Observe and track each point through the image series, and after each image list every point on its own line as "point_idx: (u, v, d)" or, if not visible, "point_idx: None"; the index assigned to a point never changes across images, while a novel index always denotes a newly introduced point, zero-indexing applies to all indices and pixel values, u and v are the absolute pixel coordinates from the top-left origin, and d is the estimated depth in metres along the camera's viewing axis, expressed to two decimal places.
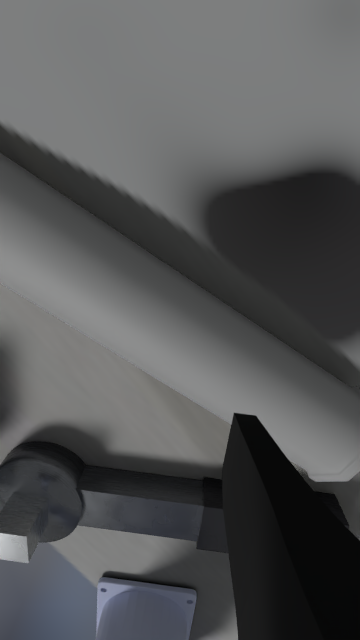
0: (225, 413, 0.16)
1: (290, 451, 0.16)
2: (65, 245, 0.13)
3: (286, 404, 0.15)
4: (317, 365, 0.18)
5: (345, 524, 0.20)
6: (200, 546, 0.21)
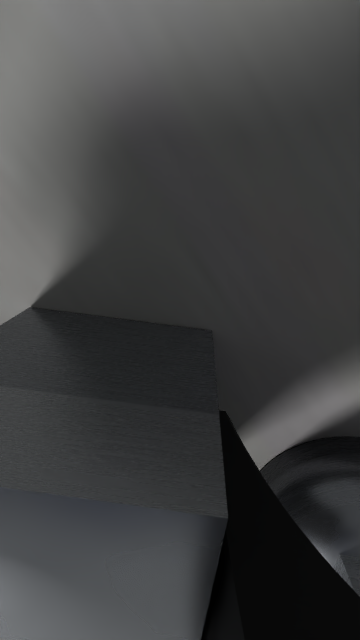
0: None
1: None
2: None
3: None
4: None
5: None
6: None
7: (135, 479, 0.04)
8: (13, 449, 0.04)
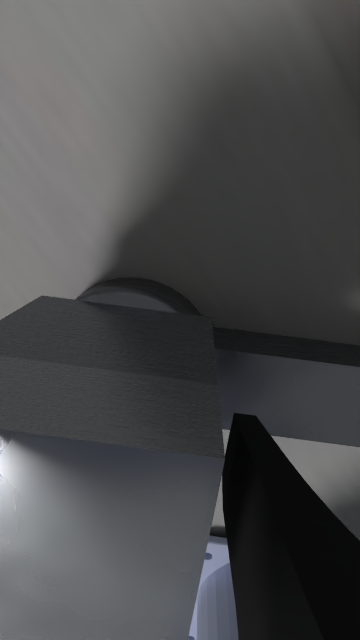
0: None
1: None
2: None
3: None
4: None
5: None
6: None
7: (145, 430, 0.05)
8: (40, 406, 0.05)
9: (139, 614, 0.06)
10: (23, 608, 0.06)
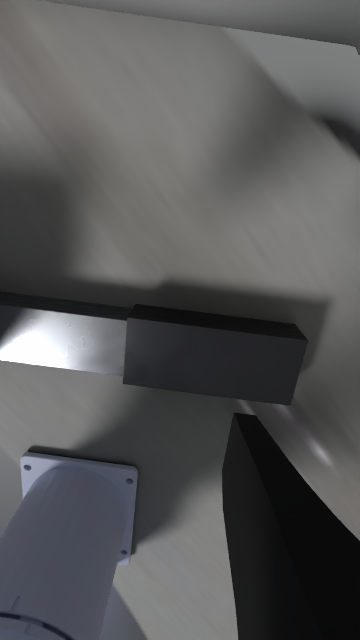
0: None
1: None
2: None
3: None
4: None
5: (303, 339, 0.16)
6: (127, 379, 0.17)
7: None
8: None
9: None
10: None
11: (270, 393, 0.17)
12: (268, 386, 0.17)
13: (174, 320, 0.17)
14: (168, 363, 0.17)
